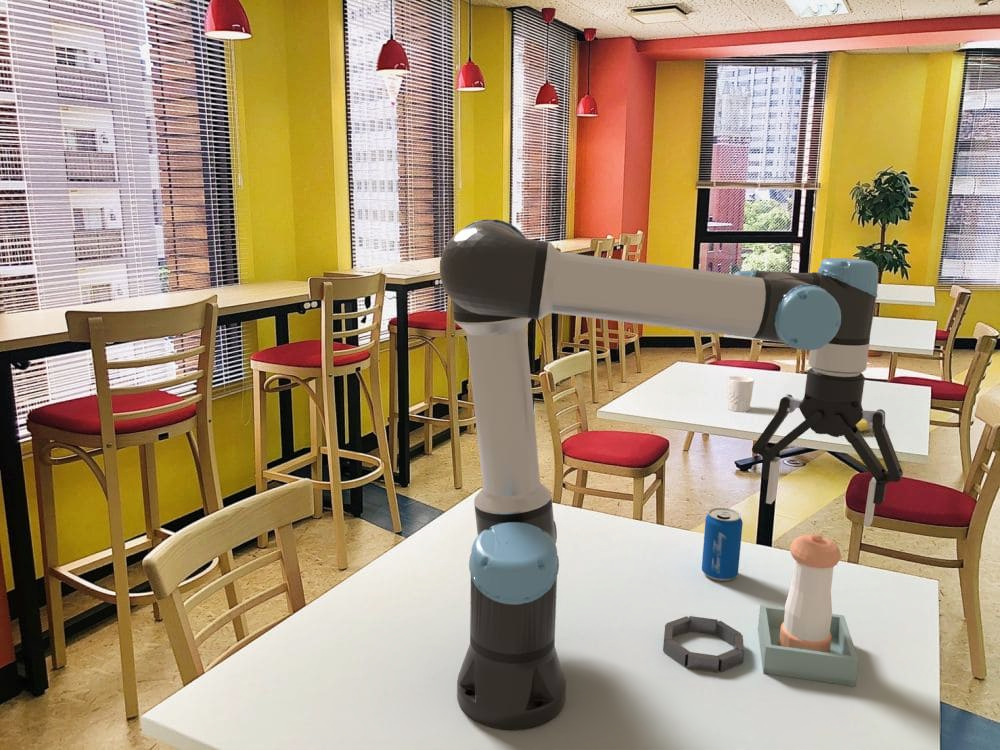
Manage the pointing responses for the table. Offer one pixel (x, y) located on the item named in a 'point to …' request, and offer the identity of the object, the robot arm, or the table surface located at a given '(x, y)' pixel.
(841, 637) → the bin
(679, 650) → the collar
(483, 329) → the robot arm
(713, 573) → the beverage can
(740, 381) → the white cup
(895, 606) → the table surface
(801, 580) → the salt shaker
